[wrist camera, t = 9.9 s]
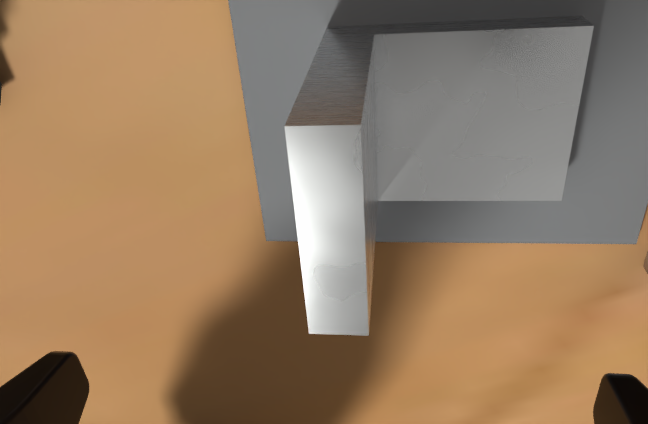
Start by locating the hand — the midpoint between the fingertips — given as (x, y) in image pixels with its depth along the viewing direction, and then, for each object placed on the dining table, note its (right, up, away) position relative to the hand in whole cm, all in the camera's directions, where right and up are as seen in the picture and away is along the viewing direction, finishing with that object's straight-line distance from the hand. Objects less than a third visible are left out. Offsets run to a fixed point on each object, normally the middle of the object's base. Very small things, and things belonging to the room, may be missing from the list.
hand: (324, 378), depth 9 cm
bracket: (+4, +6, +10) cm, 13 cm away
